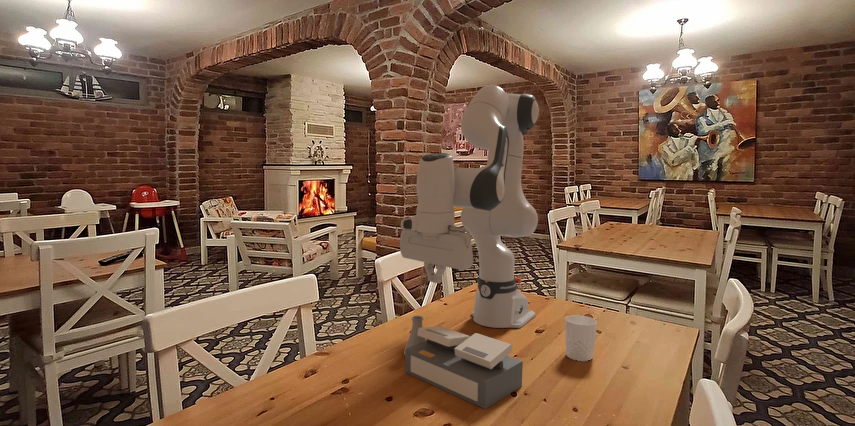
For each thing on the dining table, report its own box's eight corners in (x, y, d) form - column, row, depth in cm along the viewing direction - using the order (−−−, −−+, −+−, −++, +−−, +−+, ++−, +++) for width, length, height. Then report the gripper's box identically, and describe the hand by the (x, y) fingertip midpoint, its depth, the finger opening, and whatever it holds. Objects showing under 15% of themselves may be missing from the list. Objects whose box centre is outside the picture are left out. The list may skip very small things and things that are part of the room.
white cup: (569, 348, 128) (571, 313, 127) (598, 355, 123) (600, 318, 122) (559, 357, 121) (561, 321, 120) (590, 365, 117) (591, 327, 116)
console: (443, 355, 122) (444, 327, 121) (521, 386, 106) (522, 354, 105) (404, 372, 112) (405, 342, 111) (484, 409, 95) (485, 374, 95)
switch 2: (476, 339, 110) (475, 332, 110) (511, 351, 103) (511, 344, 103) (455, 355, 105) (454, 348, 104) (491, 369, 98) (490, 361, 97)
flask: (427, 360, 119) (428, 323, 118) (400, 357, 120) (400, 320, 119) (432, 349, 126) (433, 314, 125) (407, 347, 128) (407, 312, 126)
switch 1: (438, 332, 118) (439, 325, 118) (469, 343, 111) (470, 335, 112) (417, 335, 112) (418, 327, 113) (448, 346, 106) (449, 338, 106)
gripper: (479, 226, 102) (478, 287, 103) (414, 218, 116) (414, 272, 117) (461, 229, 97) (460, 293, 99) (395, 220, 111) (395, 276, 113)
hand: (434, 282), depth 108 cm, fingers closed
